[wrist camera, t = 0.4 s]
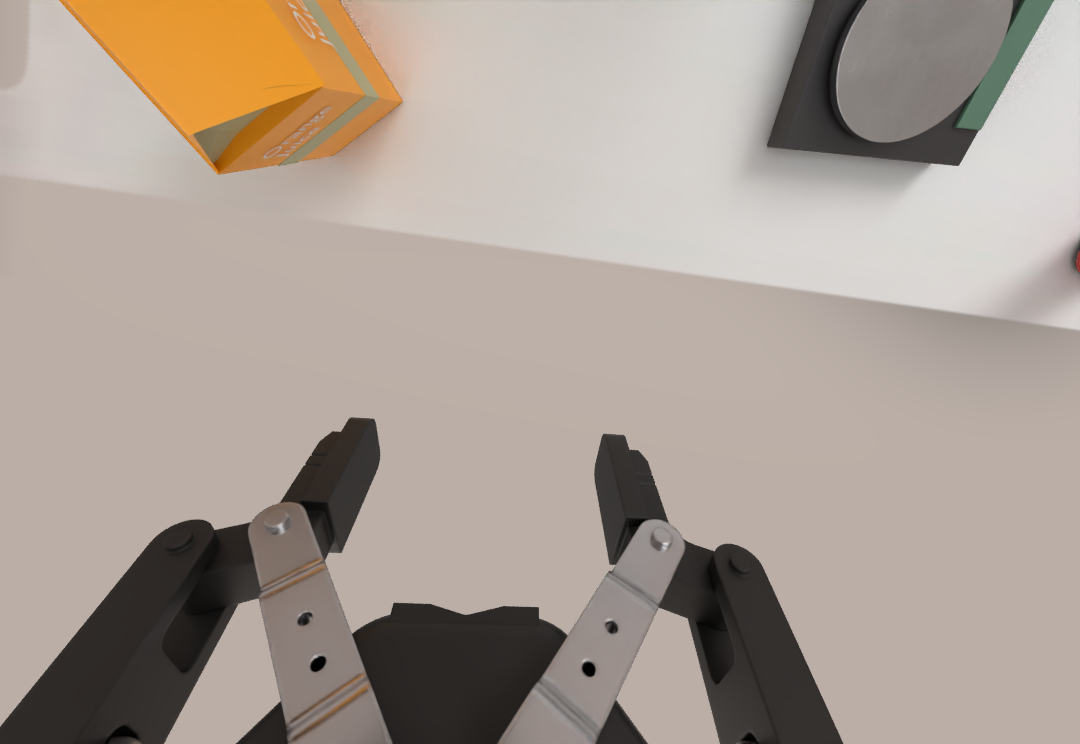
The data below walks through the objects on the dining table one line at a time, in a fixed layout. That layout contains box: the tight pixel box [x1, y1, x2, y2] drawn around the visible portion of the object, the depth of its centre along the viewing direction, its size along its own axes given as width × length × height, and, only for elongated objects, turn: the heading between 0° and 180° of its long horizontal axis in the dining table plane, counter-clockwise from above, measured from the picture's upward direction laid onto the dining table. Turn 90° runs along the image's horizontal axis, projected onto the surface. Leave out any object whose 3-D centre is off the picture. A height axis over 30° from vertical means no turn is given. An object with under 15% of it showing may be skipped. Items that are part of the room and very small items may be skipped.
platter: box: [830, 0, 1013, 143], centre depth 28 cm, size 11×11×1 cm
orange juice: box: [59, 0, 403, 175], centre depth 22 cm, size 8×9×20 cm
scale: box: [767, 0, 1054, 166], centre depth 30 cm, size 13×15×3 cm
